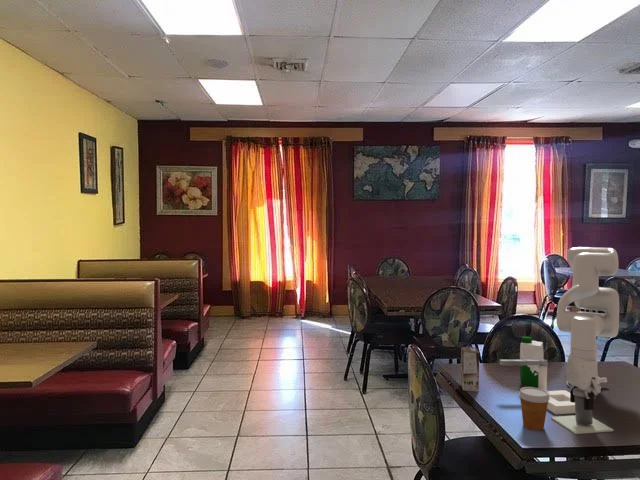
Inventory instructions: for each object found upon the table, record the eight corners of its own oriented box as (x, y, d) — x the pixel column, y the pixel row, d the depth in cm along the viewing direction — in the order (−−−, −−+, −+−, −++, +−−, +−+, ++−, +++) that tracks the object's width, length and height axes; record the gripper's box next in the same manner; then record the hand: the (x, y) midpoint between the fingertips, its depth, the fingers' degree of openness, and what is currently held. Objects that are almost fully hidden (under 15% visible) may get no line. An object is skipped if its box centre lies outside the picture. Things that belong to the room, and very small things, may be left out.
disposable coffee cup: (512, 421, 159) (513, 386, 159) (539, 420, 160) (539, 386, 160) (527, 433, 150) (528, 397, 149) (555, 432, 150) (556, 396, 150)
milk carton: (521, 379, 202) (522, 334, 201) (544, 383, 197) (545, 337, 196) (518, 385, 195) (518, 338, 194) (541, 389, 190) (542, 341, 189)
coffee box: (479, 392, 187) (479, 352, 186) (462, 390, 188) (463, 351, 187) (476, 384, 196) (476, 346, 195) (460, 383, 197) (461, 346, 196)
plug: (570, 419, 158) (568, 388, 158) (585, 418, 159) (584, 387, 159) (582, 425, 152) (580, 393, 153) (598, 424, 153) (596, 392, 153)
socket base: (554, 391, 187) (554, 362, 187) (591, 412, 167) (591, 379, 166) (522, 393, 185) (523, 364, 185) (555, 414, 165) (556, 381, 164)
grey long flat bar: (545, 363, 185) (545, 359, 185) (548, 365, 182) (549, 361, 181) (499, 363, 185) (499, 359, 185) (502, 365, 181) (502, 361, 181)
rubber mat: (587, 416, 163) (587, 414, 163) (613, 431, 151) (613, 429, 151) (551, 418, 161) (551, 416, 161) (574, 434, 149) (575, 432, 149)
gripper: (556, 347, 163) (555, 397, 164) (591, 361, 146) (590, 416, 147) (575, 346, 164) (574, 396, 165) (612, 360, 147) (611, 415, 148)
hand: (581, 405), depth 156 cm, fingers closed on plug, 5 cm apart
